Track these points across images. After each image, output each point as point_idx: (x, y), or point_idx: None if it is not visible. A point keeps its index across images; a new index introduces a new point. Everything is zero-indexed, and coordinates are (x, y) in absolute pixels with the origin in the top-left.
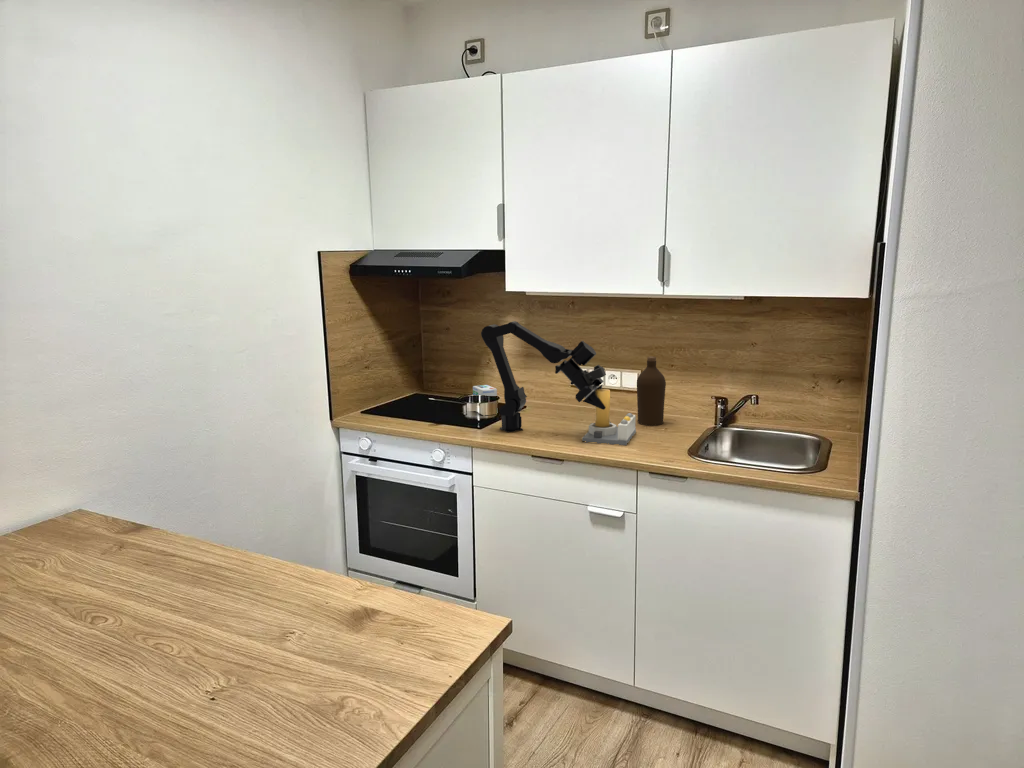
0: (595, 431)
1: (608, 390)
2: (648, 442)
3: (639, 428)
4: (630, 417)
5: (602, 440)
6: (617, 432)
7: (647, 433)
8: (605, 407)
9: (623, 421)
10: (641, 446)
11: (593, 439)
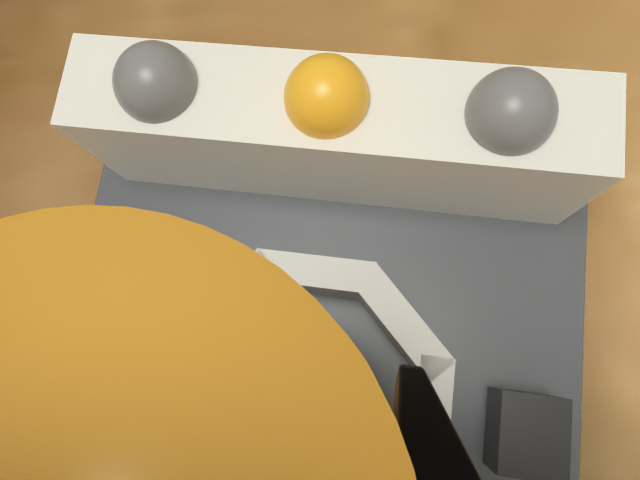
0: (533, 469)
1: (102, 274)
2: (434, 7)
3: (6, 104)
4: (197, 73)
5: (577, 373)
6: (289, 250)
7: (160, 35)
8: (416, 366)
9: (555, 106)
10: (569, 46)
11: (576, 471)
